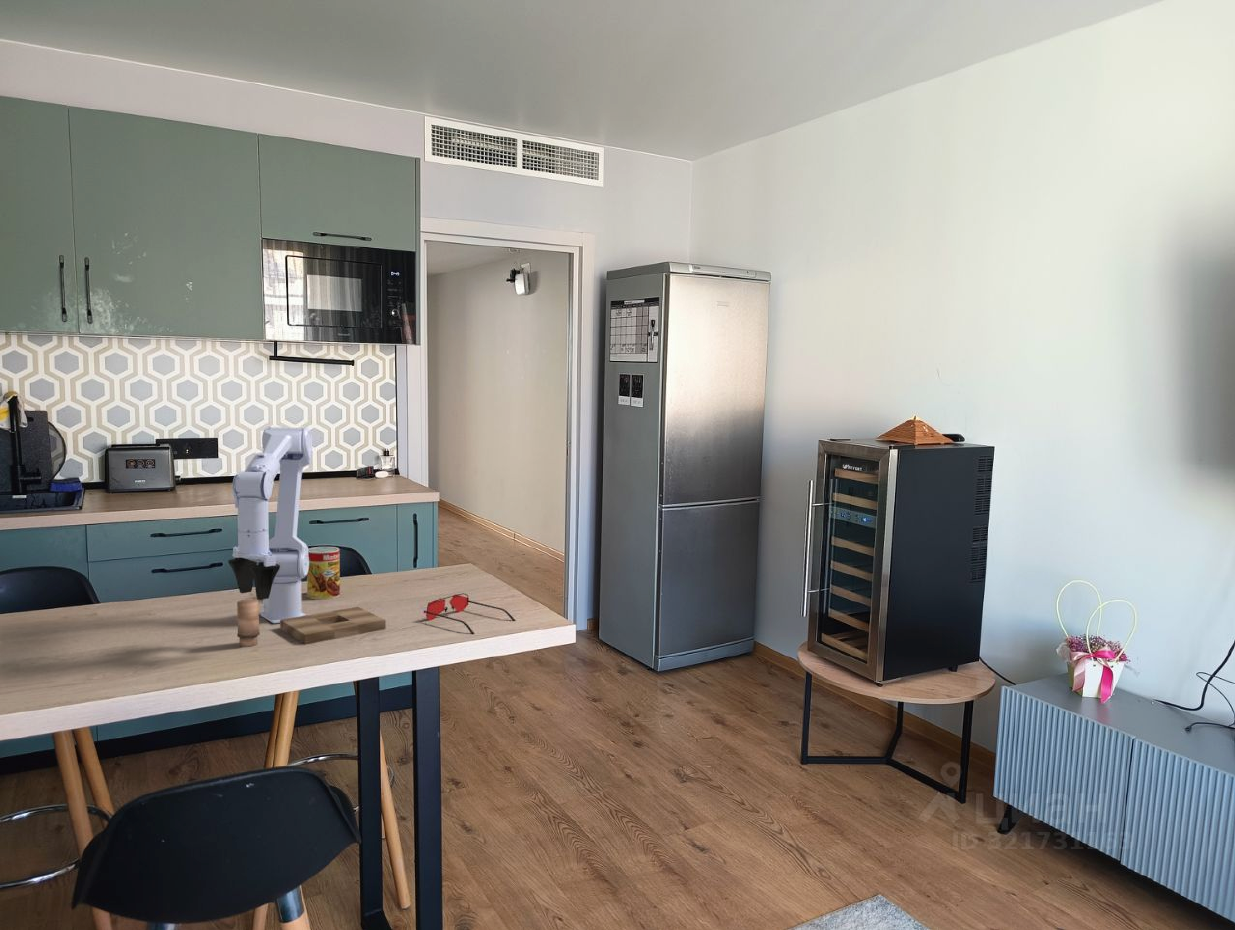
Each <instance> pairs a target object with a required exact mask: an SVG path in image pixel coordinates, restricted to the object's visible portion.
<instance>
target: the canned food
mask: <svg viewBox="0 0 1235 930" xmlns="http://www.w3.org/2000/svg"><path fill="white" fill-rule="evenodd" d="M340 552H341V551H340V548H339V547H338V546H337V547H336V546H317V547H316V546H315V547H311V548H308V557H309V569H308V573H307V575H306V581H307V583H306V584H307V585H306V586H307V588H306V589H307V590H306V591H307V592H306V593H307V594H306V595H307V596H306V597H307V598H308V599H310V600H319V601H320V600H331V599H335V598H338V597H340V595H341V592H340V591H341V588H340V587H341V580H340V579H341V577H340V575H341V574H340V572H341V571H340V569H341V568H340V565H341V564H340Z"/></svg>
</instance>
